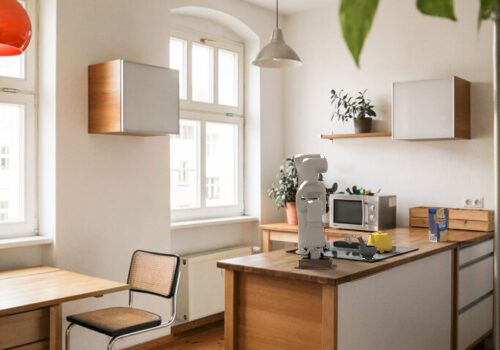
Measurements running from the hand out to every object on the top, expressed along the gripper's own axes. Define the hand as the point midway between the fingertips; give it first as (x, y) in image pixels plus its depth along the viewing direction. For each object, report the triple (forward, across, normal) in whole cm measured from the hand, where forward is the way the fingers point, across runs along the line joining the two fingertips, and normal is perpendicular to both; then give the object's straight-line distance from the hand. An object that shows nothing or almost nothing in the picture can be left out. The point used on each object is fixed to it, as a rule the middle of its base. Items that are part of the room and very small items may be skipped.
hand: (315, 260), depth 263 cm
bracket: (+4, -20, -82) cm, 85 cm away
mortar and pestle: (+3, -25, -27) cm, 37 cm away
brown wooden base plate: (+3, 0, 0) cm, 3 cm away
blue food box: (+4, -71, -104) cm, 126 cm away
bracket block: (+3, 0, 0) cm, 3 cm away
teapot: (+4, -32, -52) cm, 61 cm away
